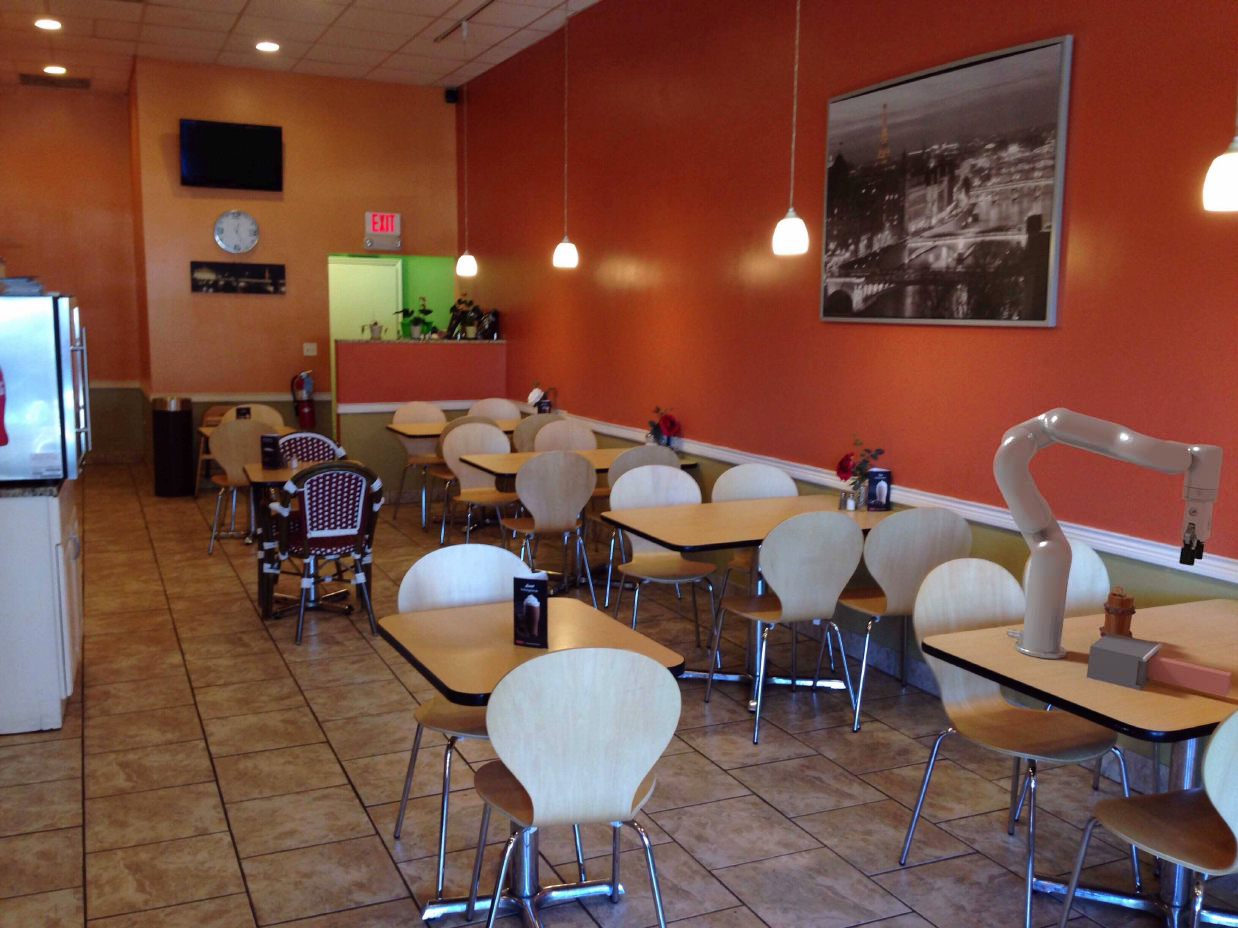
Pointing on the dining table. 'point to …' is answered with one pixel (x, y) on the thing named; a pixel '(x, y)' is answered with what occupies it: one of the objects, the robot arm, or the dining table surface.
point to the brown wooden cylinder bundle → (1118, 613)
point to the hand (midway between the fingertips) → (1190, 561)
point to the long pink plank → (1189, 675)
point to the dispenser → (1121, 660)
